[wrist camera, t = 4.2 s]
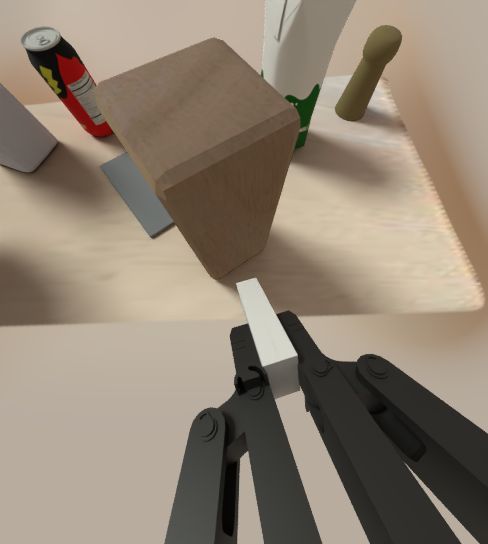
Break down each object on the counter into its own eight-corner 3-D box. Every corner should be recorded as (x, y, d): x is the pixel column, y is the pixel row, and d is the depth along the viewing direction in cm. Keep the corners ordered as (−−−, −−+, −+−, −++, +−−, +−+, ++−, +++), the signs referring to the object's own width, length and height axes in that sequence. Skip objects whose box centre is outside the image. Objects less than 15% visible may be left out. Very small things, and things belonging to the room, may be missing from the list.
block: (267, 249, 30) (312, 111, 10) (215, 283, 28) (155, 195, 9) (232, 205, 32) (218, 25, 13) (182, 235, 30) (78, 79, 11)
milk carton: (287, 117, 38) (334, -97, 19) (310, 147, 36) (391, -60, 16) (250, 131, 37) (258, -82, 17) (271, 163, 34) (308, -40, 15)
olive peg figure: (362, 123, 38) (409, 45, 27) (333, 117, 38) (368, 37, 27) (365, 103, 39) (410, 22, 29) (337, 98, 40) (371, 15, 29)
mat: (101, 168, 34) (99, 166, 33) (183, 124, 37) (182, 122, 36) (151, 238, 30) (150, 236, 29) (237, 182, 33) (237, 180, 33)
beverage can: (109, 111, 38) (51, 18, 26) (125, 129, 36) (72, 39, 25) (81, 126, 37) (7, 35, 25) (97, 144, 35) (26, 57, 24)
